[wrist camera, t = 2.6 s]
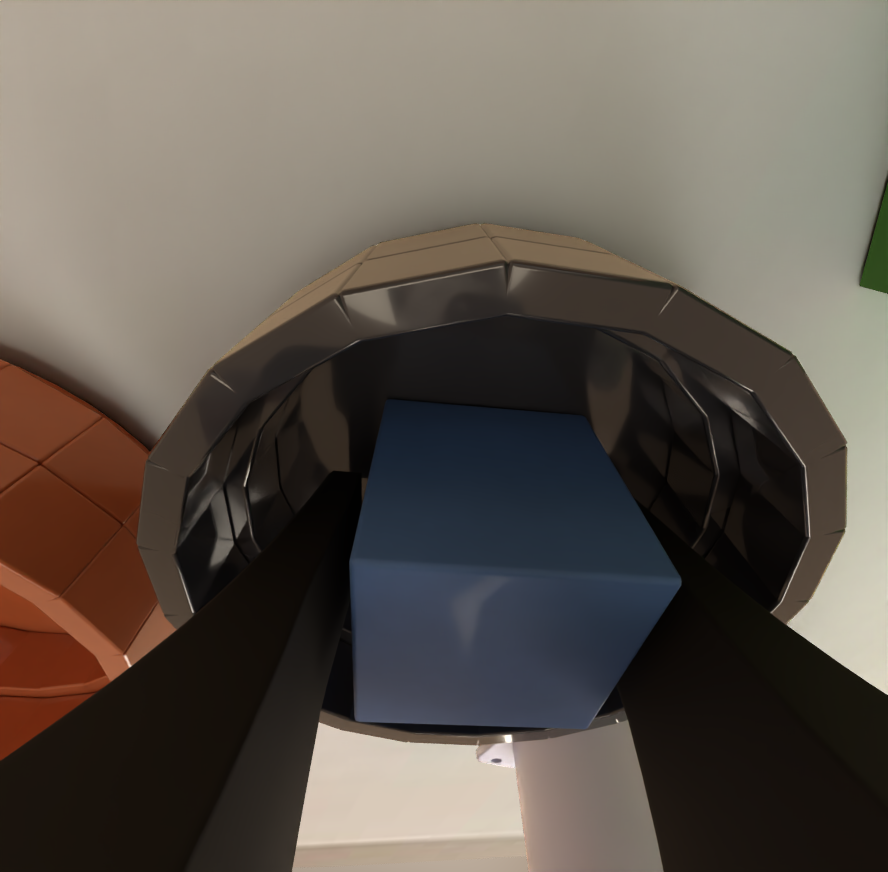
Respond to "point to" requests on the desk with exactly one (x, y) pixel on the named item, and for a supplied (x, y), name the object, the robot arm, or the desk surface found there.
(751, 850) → the robot arm
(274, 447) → the black bowl
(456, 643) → the block
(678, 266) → the desk surface
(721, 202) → the desk surface
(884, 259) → the hardback book
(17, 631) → the orange bowl
